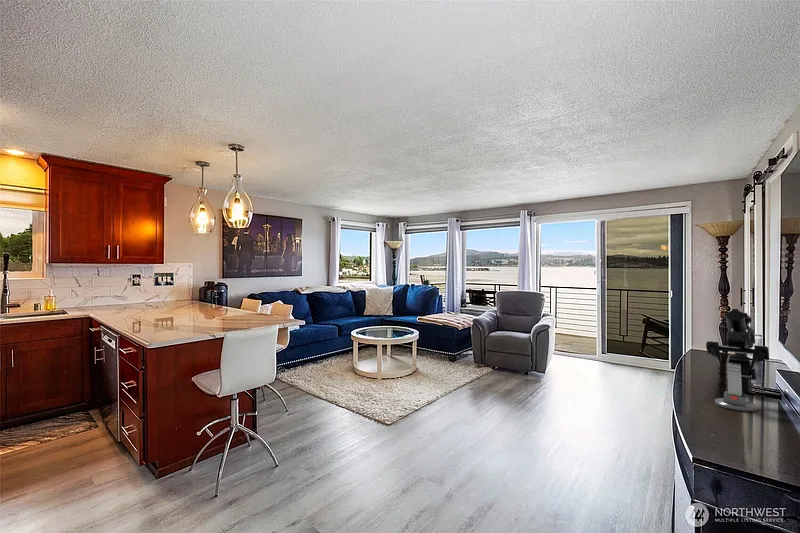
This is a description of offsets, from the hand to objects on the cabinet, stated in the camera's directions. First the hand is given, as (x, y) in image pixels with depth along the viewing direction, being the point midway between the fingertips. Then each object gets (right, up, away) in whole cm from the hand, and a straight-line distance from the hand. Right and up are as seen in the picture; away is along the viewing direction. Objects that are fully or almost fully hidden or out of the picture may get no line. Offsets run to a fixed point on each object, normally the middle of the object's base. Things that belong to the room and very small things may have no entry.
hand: (735, 367), depth 144 cm
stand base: (-6, -13, -6) cm, 16 cm away
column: (-6, -9, -6) cm, 12 cm away
